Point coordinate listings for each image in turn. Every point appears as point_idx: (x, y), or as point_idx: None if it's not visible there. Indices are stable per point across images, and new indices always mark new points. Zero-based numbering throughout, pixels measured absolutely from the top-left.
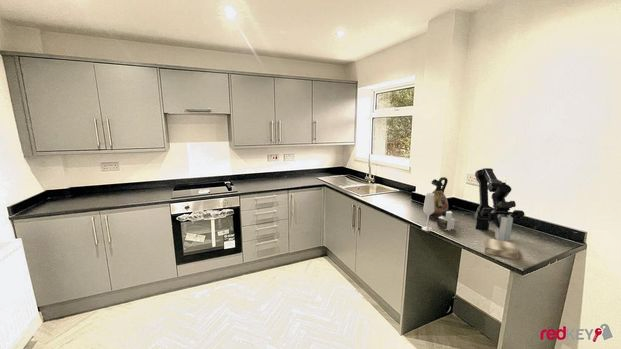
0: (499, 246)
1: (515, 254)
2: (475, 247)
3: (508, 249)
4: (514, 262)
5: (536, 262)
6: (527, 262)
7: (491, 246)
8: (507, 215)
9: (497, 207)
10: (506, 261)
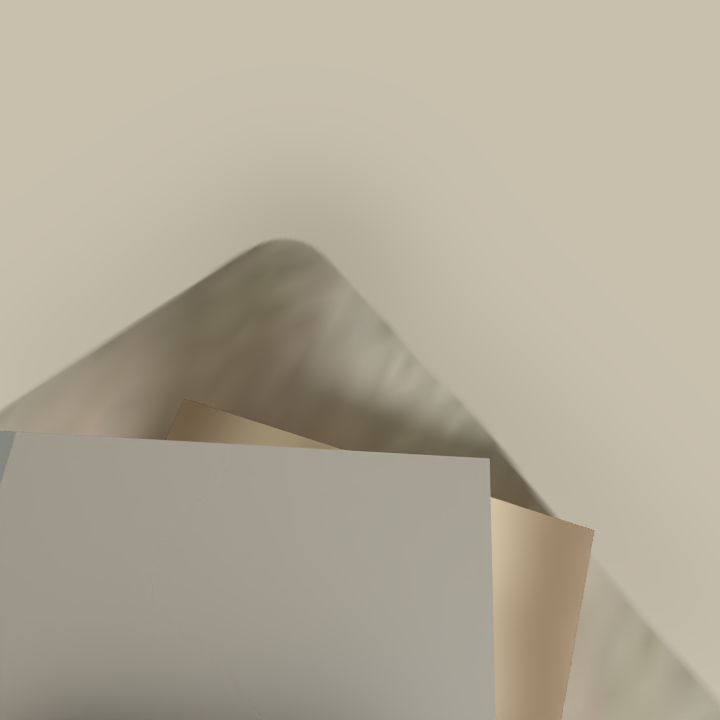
0: None
1: (221, 414)
2: (666, 714)
3: None
4: (287, 342)
5: (19, 401)
6: (131, 376)
7: None
8: None
9: None
10: (369, 345)
